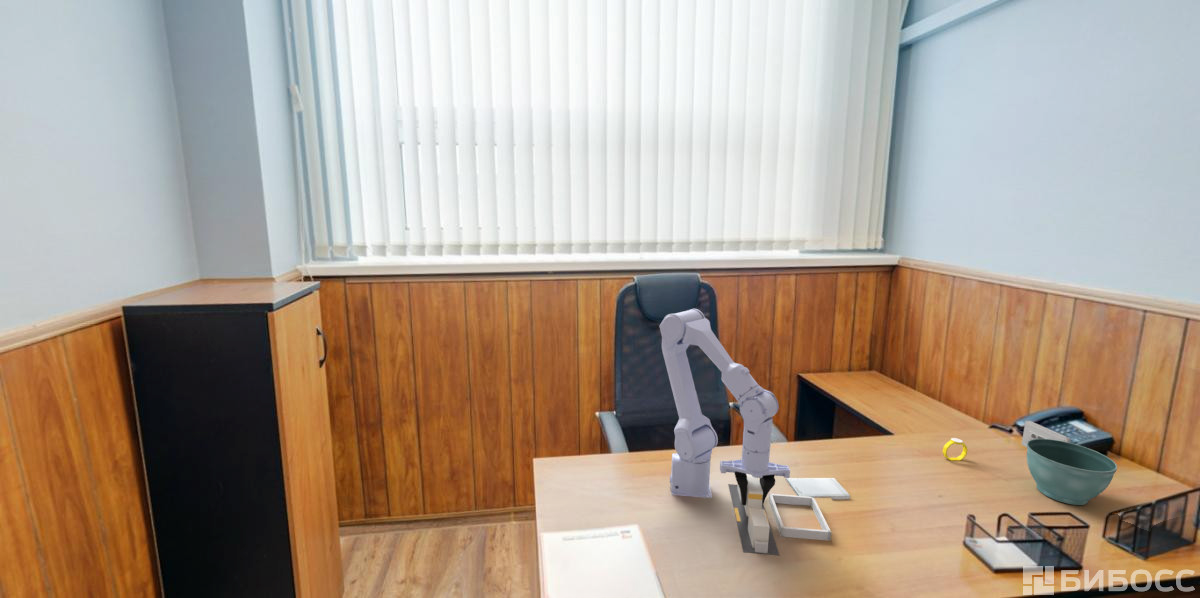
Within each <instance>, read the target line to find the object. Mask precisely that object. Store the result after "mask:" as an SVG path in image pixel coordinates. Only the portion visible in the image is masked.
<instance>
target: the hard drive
mask: <svg viewBox="0 0 1200 598" xmlns="http://www.w3.org/2000/svg"><path fill="white" fill-rule="evenodd" d="M785 480H786V482H787V483H788V485H789V486H790V488H791V489H792V490H793V491H794V493H795V494H796V496H809V497H814V498H830V499H831V500H850V499H851V495H850V494H849V493H848V491H847V490H846V489H845V488H844V487H843V486H842V485H841V484H840V483H839V482H838V481H837V479H836V478H835V477H800V478H799V477H794V478H793V477H789V478H785Z"/></svg>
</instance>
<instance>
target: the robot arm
mask: <svg viewBox="0 0 1200 598" xmlns="http://www.w3.org/2000/svg"><path fill="white" fill-rule="evenodd" d="M658 327H659V330H660V334H661V350H662V351H661V352H662V355H663V359H664V363H665V367H666V371H667V375H668V379H669V383H670V386H671V387H670V388H671V391H672V394H673V399H674V403H675V407H676V410H677V411H676V412H677V415H678V421H677V423H676V425H675V427H674V430H673V432H674V448H675V451H676V452H675V453H672V454H671V471H670V472H671V473H670V476H669V483H670V489H671V490H670V491H671V495H673V496H684V497H693V498H694V497H695V498H709V499H710V498H711V499H712V498H713V494H712V490H711V482H710V475H711V458H712V454H713V449H715V448H716V447H717V445H718V442H719V441H718V440H719V438H718V434H717V432H716V430H715V429H714V427H713V426H712V423H711V420H710V418H709V417H707V416H705V415H704V414H703V413H702V410H701V406H700V402H699V398H698V394H697V390H696V387H695V382H694V379H693V374H692V371H691V367H690V366H691V365H690V361H689V358H688V356H687V355H688V354H687V349H688V348H689V347H690V346H697V347H699V349H700V350H702V351H703V353H704V354H705V355H706V356H707V357H708V358H709V359H710V361H712V363H713V364H714V365H715V366H716V367H717V368H718V370H719V371H720V372H721V381H722V383H723V384H724V385H725V387H726V389H728V391H730V393H731V394H732V396H733V397H734V399H735V400H736V401H737V403H738V404H739V405H740V406H739V412H740V415H741V417H742V419H743V434H742V451H741V459H735V460H733V459H731V460H720V462H719V470H720V474H726V473H734V476H735V480H736V484H737V485H739V488H740V492H741V502H742V505H746V491H747V485H748V480H747V475H746V474H750V475H752V476H753V477H755V478H758V479H759V482H760V485H761V488H762V491H763V498H762V507H763V505H764V503H765V500H766V498H767V497H768V495H769V494H770V491H772V489H773V488H774V486H775V485H776V478H775V476H777V477H783V478H785V479H786V478H791V475H790V474H791V469H790V467H789V465H785V464H779V463H775V462H770V457H771V456H770V455H771V454H770V453H771V443H772V430H773V417H775V415H776V414H777V413H778V411H779V406H780V405H779V401H778V399H777V398H776V396H775V394H774V393H773V392H772V391H771V390H767V389H764V388H763V387H762V386H760V385H759V384H758V382H757V380H755V379H754V377H753V376H752V374H750V372H751V371H750V370H749V368H748V367H745V366H744V365H743V363H742V364H741V363H736V362H734V361H733V359H732V358H731V356H730V355H729V353H728V352H727V351H726V349H725V347H724V345H722V343H721V342H720V341H719V340H720V339H718V338H717V336H716V334H715V333H714V332H713V330H712V328H711V322H710V320H709V319H708V318H707V317H706V316H705V314H704V312H702V311H701V310H700V309H697V308H690V309H687V310H684V311H680V312H676V313H669V314H666V315H665V316H664V318H663V320H662V321H661V323H660V324H659V326H658Z"/></svg>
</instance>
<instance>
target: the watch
mask: <svg viewBox="0 0 1200 598" xmlns="http://www.w3.org/2000/svg"><path fill="white" fill-rule="evenodd" d="M954 444H955V445H960V446H962V451H961V454H960V455H958V456H957V457H948V453H947V452H948V450H949V448H950V447H951V446H952V445H954ZM967 454H968V446H967V445H966V444H965V443H964V442H963V440H962V439H960V438H956V437H952V438H950V440H948V441H947V442H946V443H945V444H944V445H943V448H942V455H943V456H944V458H945V459H947V460H948V461H949V462H951V461H952V462H953V461H955V462H961V461H963V459H965V458H966V456H967Z"/></svg>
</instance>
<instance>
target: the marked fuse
mask: <svg viewBox="0 0 1200 598" xmlns="http://www.w3.org/2000/svg"><path fill="white" fill-rule="evenodd" d="M747 480H748V485H747V491H746V505H744V508H745V511H746V515H747V516H749V508H754V509H762V498H763V491H762V488H761V485H760V478H755V477H747Z"/></svg>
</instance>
